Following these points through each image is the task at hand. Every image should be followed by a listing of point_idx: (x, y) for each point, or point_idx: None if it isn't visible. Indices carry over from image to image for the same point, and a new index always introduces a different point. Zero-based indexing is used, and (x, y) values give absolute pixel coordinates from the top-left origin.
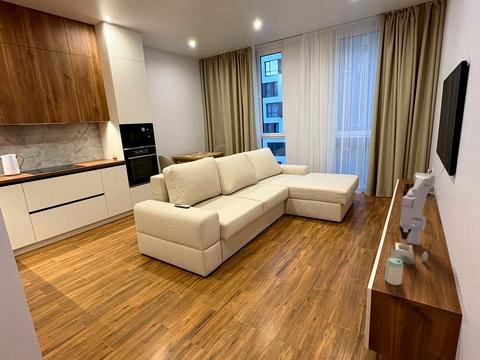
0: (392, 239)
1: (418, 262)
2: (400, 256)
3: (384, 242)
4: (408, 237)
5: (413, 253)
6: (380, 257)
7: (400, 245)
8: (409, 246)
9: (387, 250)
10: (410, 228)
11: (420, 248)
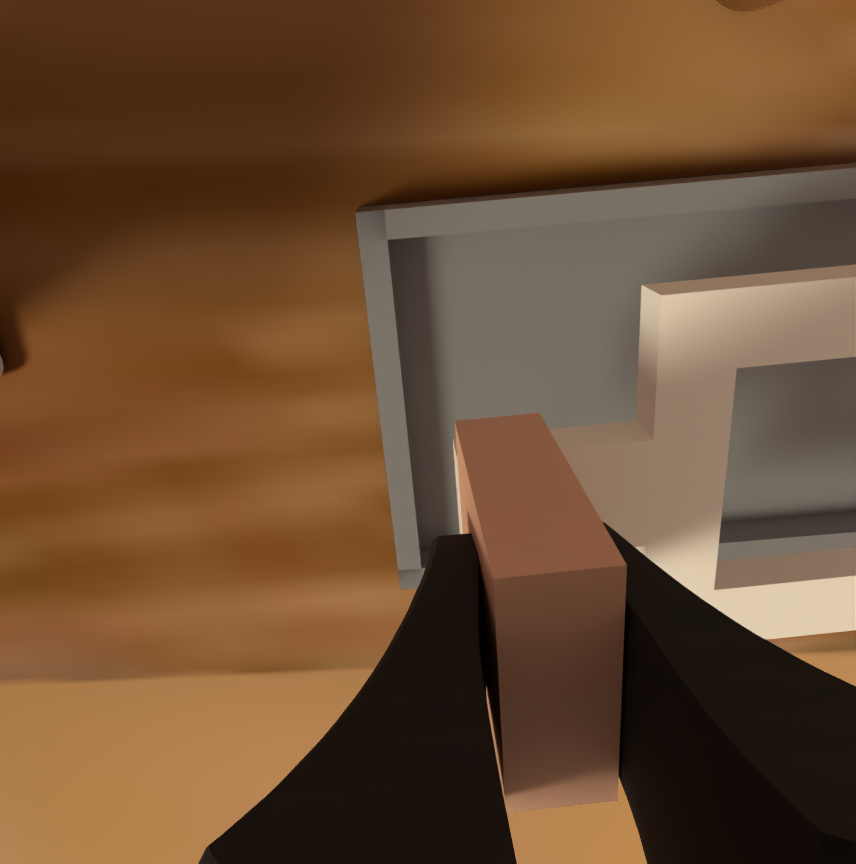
0: (39, 582)
1: (797, 75)
2: None
3: (262, 667)
4: (594, 510)
5: (553, 198)
6: (830, 647)
7: (710, 539)
8: (739, 353)
9: None
10: (505, 842)
11: (64, 51)
